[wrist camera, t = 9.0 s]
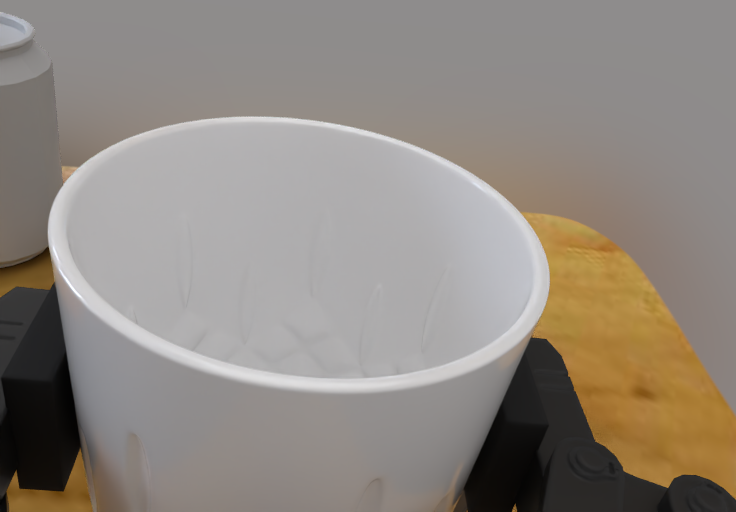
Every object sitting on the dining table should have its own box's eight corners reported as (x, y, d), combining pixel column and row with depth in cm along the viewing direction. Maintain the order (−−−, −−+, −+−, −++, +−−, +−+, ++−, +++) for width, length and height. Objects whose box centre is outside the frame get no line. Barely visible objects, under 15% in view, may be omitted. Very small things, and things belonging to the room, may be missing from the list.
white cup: (280, 402, 22) (322, 91, 16) (486, 587, 18) (635, 257, 12) (20, 553, 16) (-49, 168, 11) (229, 866, 12) (288, 506, 7)
